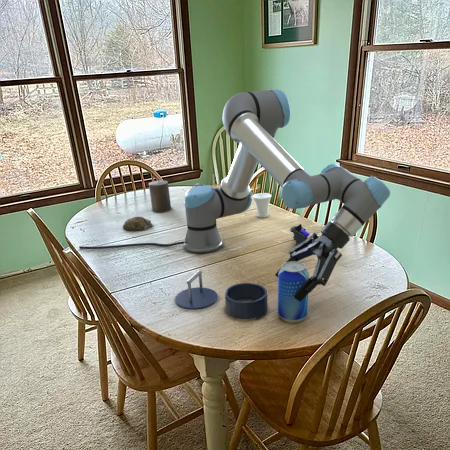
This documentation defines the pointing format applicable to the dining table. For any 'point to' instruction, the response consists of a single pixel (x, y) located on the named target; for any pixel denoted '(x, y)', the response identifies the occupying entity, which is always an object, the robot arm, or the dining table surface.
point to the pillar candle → (160, 196)
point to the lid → (196, 295)
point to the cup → (262, 204)
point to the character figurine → (300, 234)
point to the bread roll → (137, 224)
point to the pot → (246, 308)
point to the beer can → (292, 291)
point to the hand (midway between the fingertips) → (286, 287)
